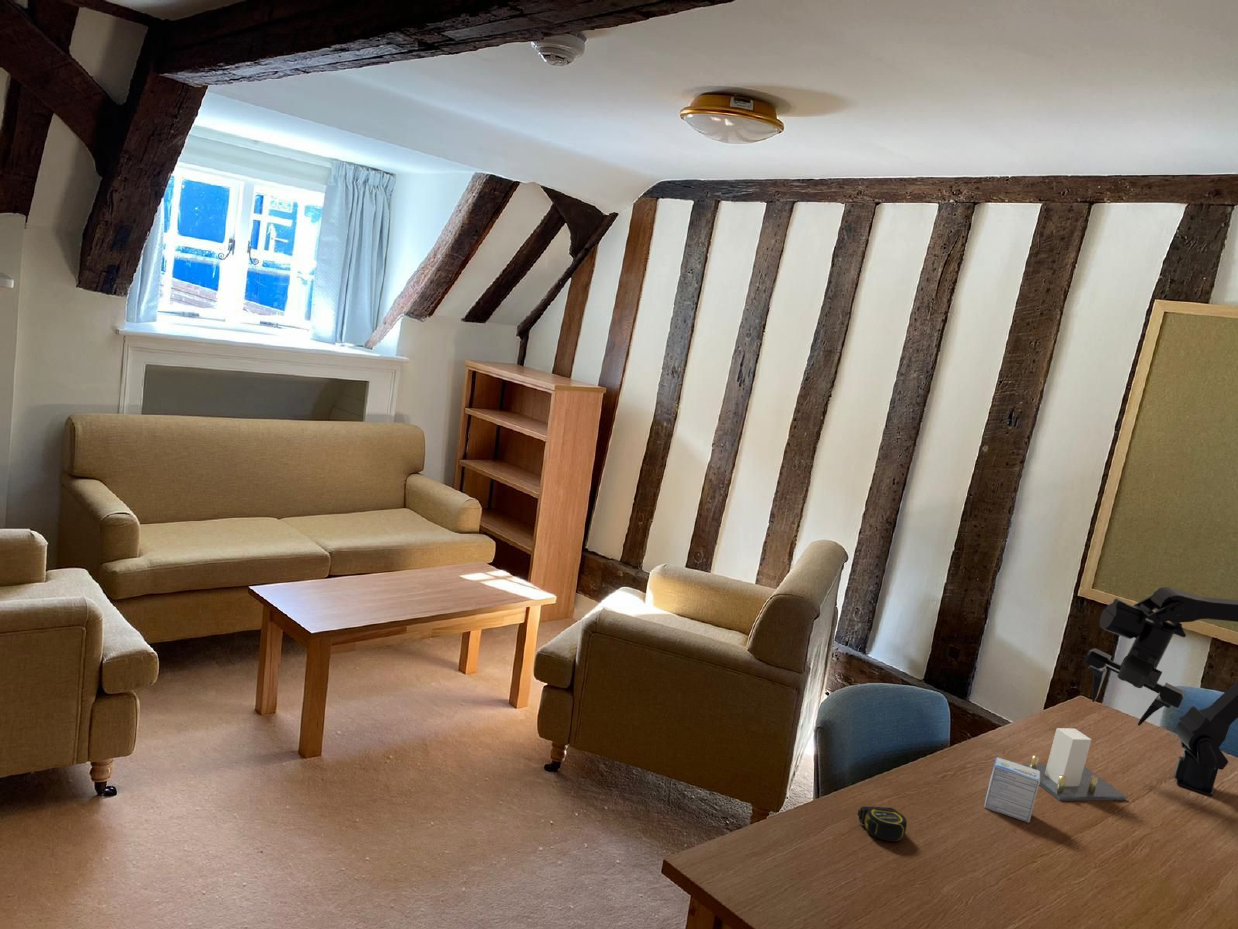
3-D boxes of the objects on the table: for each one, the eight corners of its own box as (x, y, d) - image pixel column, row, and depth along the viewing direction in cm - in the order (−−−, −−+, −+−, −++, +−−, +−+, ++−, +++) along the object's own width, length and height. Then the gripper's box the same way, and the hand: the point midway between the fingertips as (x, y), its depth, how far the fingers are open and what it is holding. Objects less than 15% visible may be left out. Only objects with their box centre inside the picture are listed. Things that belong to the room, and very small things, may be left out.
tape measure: (892, 824, 165) (896, 804, 164) (910, 847, 158) (915, 827, 158) (855, 822, 164) (859, 802, 163) (872, 845, 157) (876, 824, 157)
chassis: (1081, 768, 200) (1085, 751, 199) (1125, 800, 188) (1130, 782, 188) (1017, 768, 195) (1022, 751, 194) (1059, 800, 183) (1064, 782, 183)
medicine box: (1030, 813, 176) (1041, 770, 175) (1029, 824, 172) (1040, 780, 171) (985, 798, 180) (996, 756, 178) (983, 808, 176) (994, 765, 174)
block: (1062, 774, 193) (1074, 728, 192) (1078, 786, 189) (1091, 739, 187) (1044, 774, 192) (1056, 728, 190) (1060, 786, 188) (1073, 739, 186)
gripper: (1096, 628, 195) (1063, 696, 198) (1194, 675, 185) (1158, 745, 188) (1105, 623, 204) (1073, 688, 207) (1199, 667, 194) (1164, 734, 197)
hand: (1115, 713), depth 200 cm, fingers open, 9 cm apart
